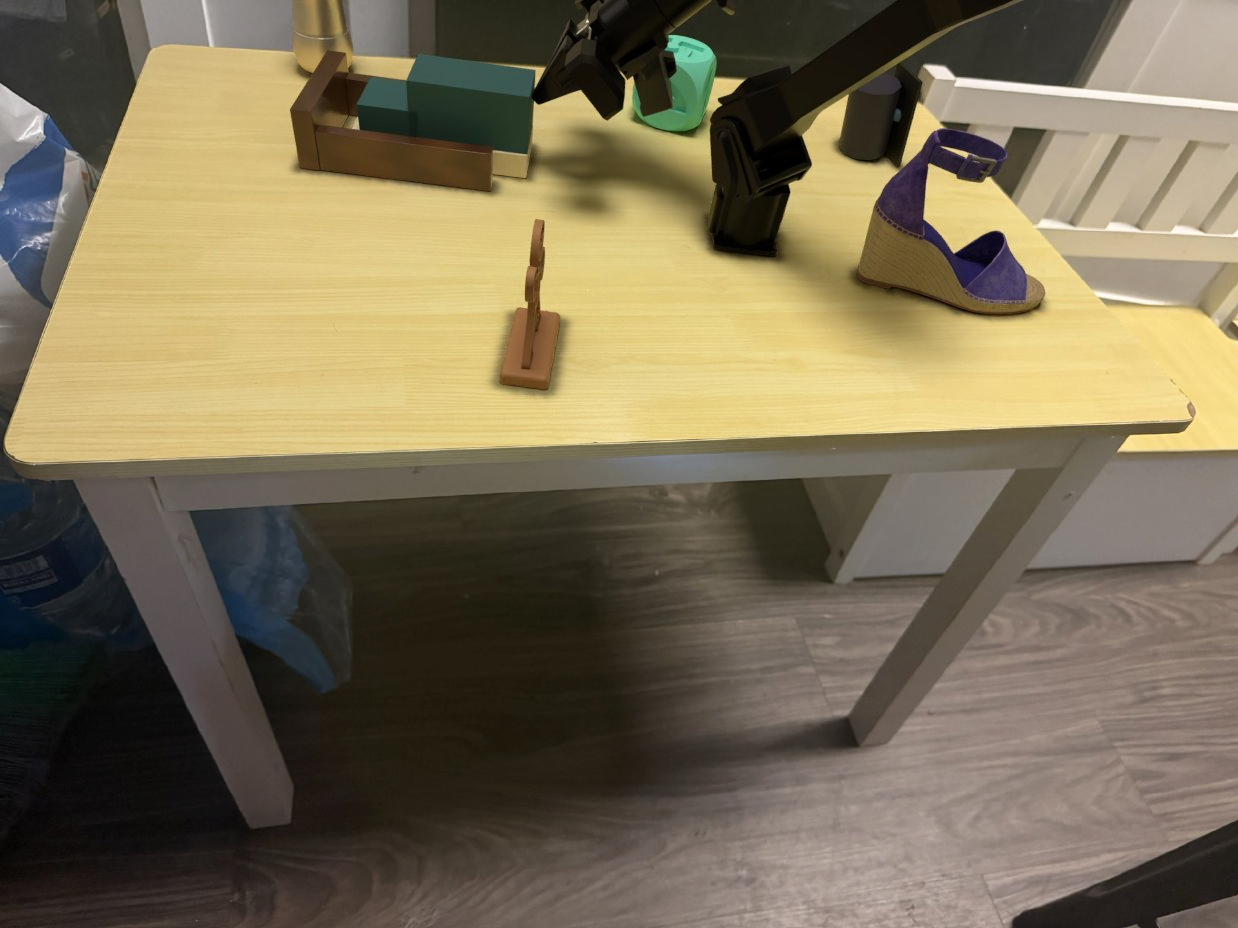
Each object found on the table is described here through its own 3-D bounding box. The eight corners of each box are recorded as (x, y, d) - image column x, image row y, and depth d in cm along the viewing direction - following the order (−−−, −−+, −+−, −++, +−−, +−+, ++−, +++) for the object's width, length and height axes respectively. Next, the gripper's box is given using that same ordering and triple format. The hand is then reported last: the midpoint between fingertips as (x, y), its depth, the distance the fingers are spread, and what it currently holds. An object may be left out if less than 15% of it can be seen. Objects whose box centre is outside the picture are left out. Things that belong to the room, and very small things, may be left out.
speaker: (895, 144, 103) (920, 59, 95) (900, 168, 99) (926, 83, 91) (834, 139, 103) (853, 55, 95) (836, 163, 99) (857, 78, 91)
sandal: (1048, 330, 80) (1140, 190, 69) (848, 290, 80) (908, 143, 69) (1033, 283, 85) (1116, 146, 74) (846, 245, 85) (901, 103, 74)
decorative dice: (691, 138, 97) (705, 70, 91) (628, 121, 98) (637, 51, 92) (707, 112, 102) (721, 45, 96) (646, 95, 103) (657, 28, 97)
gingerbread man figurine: (515, 314, 71) (520, 188, 62) (560, 321, 71) (571, 195, 62) (498, 383, 65) (502, 253, 56) (547, 390, 65) (558, 262, 56)
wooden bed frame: (505, 128, 93) (506, 74, 88) (490, 192, 83) (491, 135, 79) (334, 105, 91) (327, 50, 87) (299, 168, 82) (289, 109, 77)
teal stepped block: (531, 146, 91) (535, 68, 84) (526, 178, 86) (529, 98, 80) (366, 125, 89) (358, 44, 83) (351, 156, 85) (341, 73, 78)
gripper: (711, 113, 75) (579, 205, 82) (702, 34, 87) (588, 120, 94) (639, 8, 68) (503, 118, 76) (640, -62, 81) (523, 38, 88)
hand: (534, 100), depth 84 cm, fingers closed, pressing on teal stepped block
